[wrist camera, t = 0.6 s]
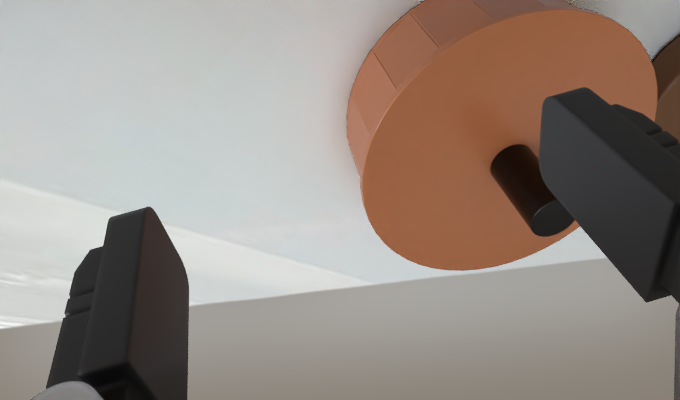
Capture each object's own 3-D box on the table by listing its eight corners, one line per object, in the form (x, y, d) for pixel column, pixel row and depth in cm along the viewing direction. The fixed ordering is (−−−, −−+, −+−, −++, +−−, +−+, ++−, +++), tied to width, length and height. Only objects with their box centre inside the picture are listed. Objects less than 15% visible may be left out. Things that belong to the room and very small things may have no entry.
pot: (333, 3, 27) (359, 47, 23) (614, -42, 29) (685, -8, 25) (352, 223, 37) (373, 281, 33) (561, 180, 39) (605, 231, 35)
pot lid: (346, 31, 23) (381, 93, 19) (687, -25, 25) (790, 21, 21) (364, 281, 34) (390, 357, 30) (603, 229, 36) (660, 293, 31)
